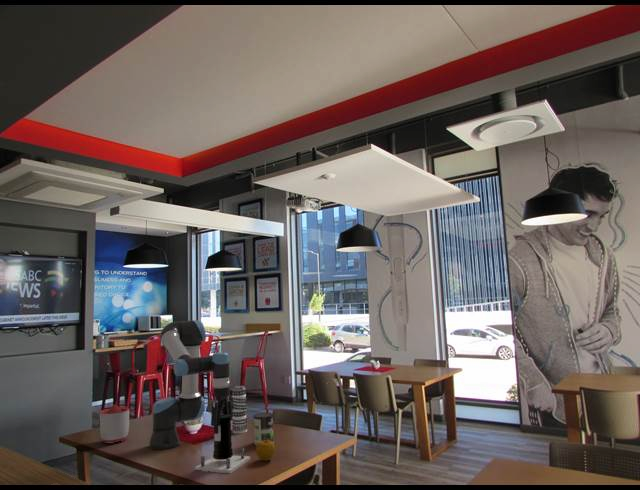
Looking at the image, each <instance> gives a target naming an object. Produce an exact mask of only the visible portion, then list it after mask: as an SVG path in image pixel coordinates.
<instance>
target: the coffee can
mask: <svg viewBox="0 0 640 490" xmlns="http://www.w3.org/2000/svg"><path fill="white" fill-rule="evenodd" d="M252 418H253V436H254V437H253V441H254V442H253V443H254V445H255V446H257V444H258V443H259V442H261V441H265V440H270V441H272V442H273V443H274V442H275V441H274V439H275V438H274V436H275V435H274V414H273V413H272V412H258V413H255V414H254V415H252ZM274 444H275V443H274Z"/></svg>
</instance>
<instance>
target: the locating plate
mask: <svg viewBox="0 0 640 490" xmlns="http://www.w3.org/2000/svg"><path fill="white" fill-rule="evenodd" d="M250 460H251V456H247V455H246V456H245V448H240V455H233V456H232V457H231V458H226V459H224V460H217V459H214V458H213V456H212V457H209V458H208V459H206V460H205V456H204V455H202V456H200V464H198V465H197V466H195V467H194V471H195V470H202V471H201V472H208V471H210V473H220V474H224V473H225V474H232V473H233V472H235V471H236V470H237V469H238V468H240V467H242V466H243V465H244V464H246V463H247V462H249V461H250Z"/></svg>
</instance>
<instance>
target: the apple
mask: <svg viewBox="0 0 640 490" xmlns="http://www.w3.org/2000/svg"><path fill="white" fill-rule="evenodd" d="M255 446H256V447H255V453H256V454H257V456H258V458H259V459H260V460H261V461H263V462H264V461H265V462H268V461H270V460H271V459H272V457H273V456H274V454H275V451H276V445H275V443H273V442H272V441H270V440H265V441H261V442H259V443H258V444H257V445H255Z"/></svg>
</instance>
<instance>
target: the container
mask: <svg viewBox="0 0 640 490" xmlns="http://www.w3.org/2000/svg"><path fill="white" fill-rule="evenodd" d="M230 418H231V415H230V414H224V413H221V417H220V423H219V426H220V433H221V441H215V439H214V438H213V455H212V457H213V458H214V459H217V460H224V459H226V458H231V457H232V456H234V453H233V451H234V450H233V448H232V446H233V445H232V444H233V443H232V423H231V421H232V420H231V419H230Z"/></svg>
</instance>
